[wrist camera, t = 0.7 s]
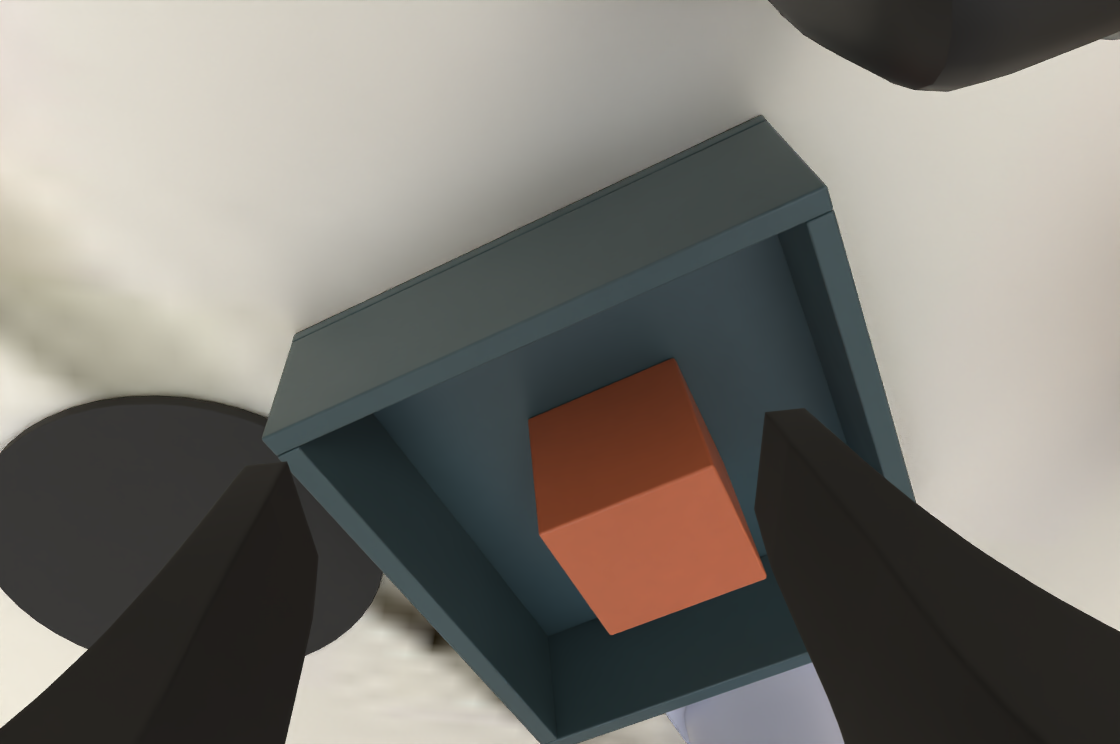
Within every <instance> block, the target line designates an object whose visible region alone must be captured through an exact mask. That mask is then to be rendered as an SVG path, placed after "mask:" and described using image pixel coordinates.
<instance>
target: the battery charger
mask: <svg viewBox="0 0 1120 744" xmlns="http://www.w3.org/2000/svg"><path fill="white" fill-rule="evenodd" d="M768 1H769V2H770V3H771V4H772V5H773V6H774V7H775V8H776V9H777V10H778V11H779V13H780V14H781V15H782V16H783V17H785V18H786V19H787V20H788V21H789V22H790V23H791V24H792V25H793V26H794V27H796V28H797V29H798V30H799V31H800V32H801V33H802V34H803V35H805V36H806V37H808V38H810V39H811V40H813V41H815V42H816V43H818V44H819V45H821V46H823V47H825V48H826V49H828V50H830V51H832V52H834V53H836V54H837V55H839V56H841V57H843V58H845V59H847V60H849V61H851V62H853V63H855V64H856V65H858V66H860V67H862V68H864V69H866V70H868V71H870V72H872V73H874V74H876V75H878V76H880V77H882V78H884V79H886V80H887V81H889V82H891V83H893V84H897V85H900V86H903V87H906V88H910V89H913V90H924V91H944V92H949V91H952V90H956V89H960V88H963V87H967V86H971V85H974V84H978V83H982V82H985V81H989V80H992V79H996V78H999V77H1002V76H1005V75H1009V74H1012V73H1015V72H1017V71H1020V70H1022V69H1025V68H1027V67H1030V66H1033V65H1035V64H1038V63H1040V62H1043V61H1045V60H1048V59H1050V58H1053V57H1056V56H1058V55H1061V54H1063V53H1066V52H1068V51H1071V50H1074V49H1076V48H1079V47H1081V46H1084V45H1086V44H1089V43H1091V42H1094V41H1097V40H1099V39H1105V40H1118V39H1120V0H768Z"/></svg>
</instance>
